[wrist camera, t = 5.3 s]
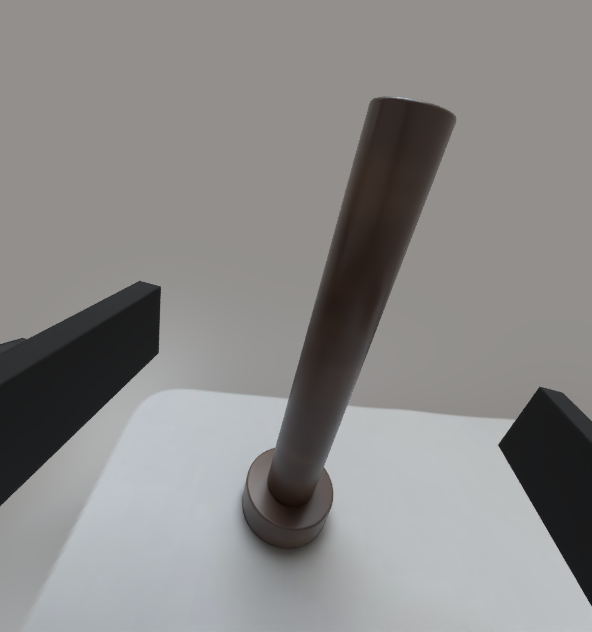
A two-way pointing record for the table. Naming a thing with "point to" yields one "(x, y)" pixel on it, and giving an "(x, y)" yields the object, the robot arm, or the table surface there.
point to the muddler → (347, 313)
